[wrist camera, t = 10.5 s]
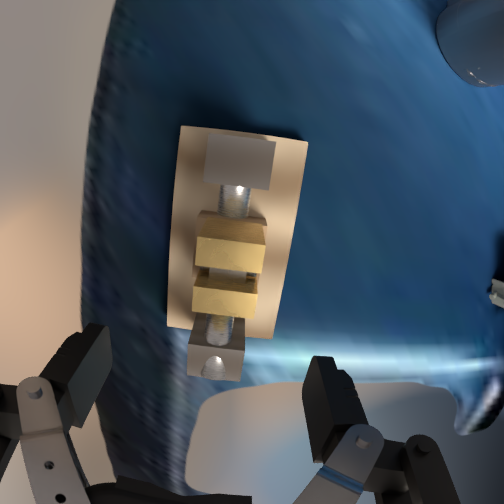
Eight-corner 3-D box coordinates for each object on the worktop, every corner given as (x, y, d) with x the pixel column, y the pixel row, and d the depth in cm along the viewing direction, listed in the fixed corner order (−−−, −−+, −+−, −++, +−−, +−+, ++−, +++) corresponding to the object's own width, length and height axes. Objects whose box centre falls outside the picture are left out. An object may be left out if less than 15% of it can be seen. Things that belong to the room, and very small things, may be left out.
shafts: (227, 135, 20) (223, 134, 16) (258, 139, 20) (260, 138, 17) (204, 355, 25) (198, 384, 22) (228, 358, 26) (225, 388, 22)
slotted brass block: (252, 285, 25) (253, 319, 20) (201, 279, 25) (191, 311, 20) (262, 223, 23) (265, 245, 19) (207, 216, 23) (197, 236, 18)
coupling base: (184, 126, 25) (156, 120, 17) (304, 142, 25) (330, 142, 17) (170, 317, 31) (148, 373, 22) (270, 330, 31) (277, 389, 23)
